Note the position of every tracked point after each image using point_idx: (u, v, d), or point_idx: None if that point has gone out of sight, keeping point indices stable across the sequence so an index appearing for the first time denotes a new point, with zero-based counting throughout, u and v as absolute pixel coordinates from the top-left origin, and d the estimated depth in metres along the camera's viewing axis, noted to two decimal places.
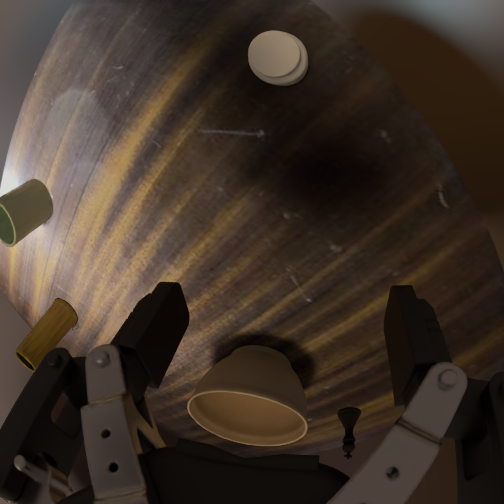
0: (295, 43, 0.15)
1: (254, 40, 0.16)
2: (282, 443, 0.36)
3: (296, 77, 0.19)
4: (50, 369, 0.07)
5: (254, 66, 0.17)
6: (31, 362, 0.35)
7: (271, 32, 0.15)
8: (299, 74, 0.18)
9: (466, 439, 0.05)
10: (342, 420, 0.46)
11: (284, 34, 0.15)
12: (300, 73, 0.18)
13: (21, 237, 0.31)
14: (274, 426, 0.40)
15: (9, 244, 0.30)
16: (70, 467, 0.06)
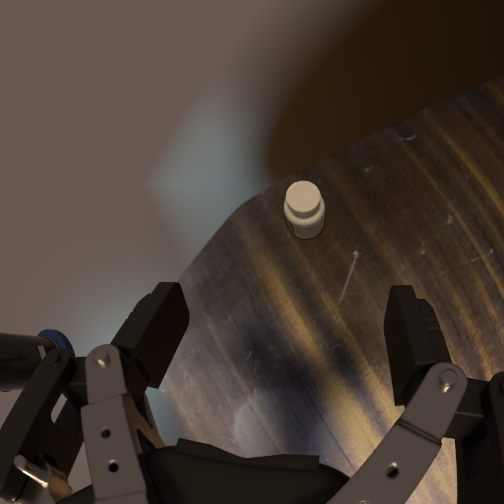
0: (299, 181, 0.29)
1: (290, 204, 0.29)
2: None
3: (321, 198, 0.31)
4: (50, 369, 0.07)
5: (309, 209, 0.28)
6: None
7: (287, 193, 0.29)
8: None
9: (466, 439, 0.05)
10: None
11: (291, 186, 0.29)
12: None
13: None
14: None
15: None
16: (70, 467, 0.06)
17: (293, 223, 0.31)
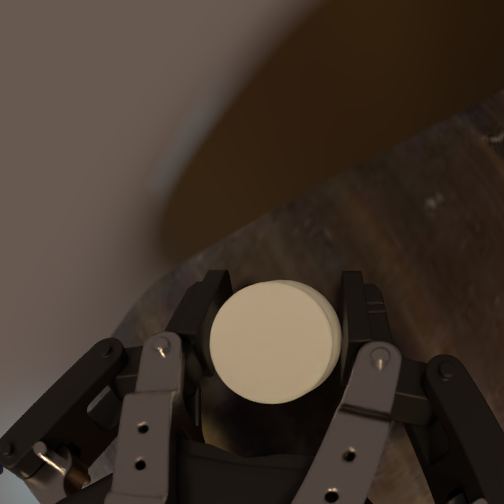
0: (260, 286, 0.08)
1: (221, 373, 0.08)
2: None
3: (335, 316, 0.10)
4: (97, 361, 0.07)
5: (287, 398, 0.07)
6: None
7: (215, 329, 0.08)
8: (330, 308, 0.10)
9: (417, 426, 0.06)
10: None
11: (230, 303, 0.08)
12: (329, 305, 0.10)
13: None
14: None
15: None
16: (95, 457, 0.07)
17: None
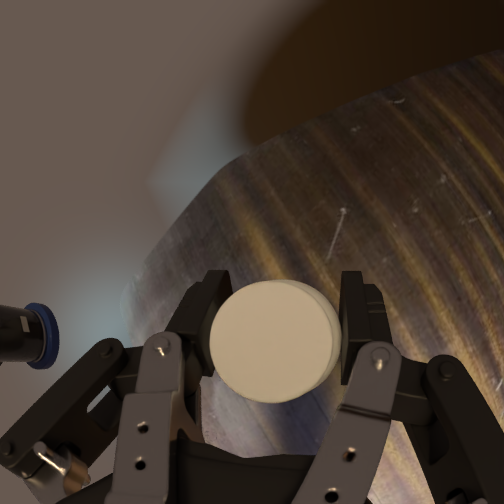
0: (260, 285, 0.08)
1: (221, 372, 0.08)
2: None
3: (335, 315, 0.10)
4: (97, 361, 0.07)
5: (287, 397, 0.07)
6: None
7: (215, 328, 0.08)
8: (330, 307, 0.10)
9: (417, 426, 0.06)
10: None
11: (230, 302, 0.08)
12: (329, 304, 0.10)
13: None
14: None
15: None
16: (95, 457, 0.07)
17: None
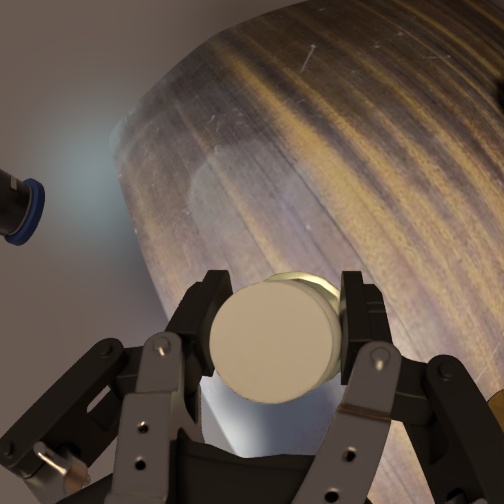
0: (260, 285, 0.08)
1: (221, 373, 0.08)
2: None
3: (335, 315, 0.10)
4: (97, 361, 0.07)
5: (287, 398, 0.07)
6: None
7: (215, 329, 0.08)
8: (330, 307, 0.10)
9: (417, 426, 0.06)
10: None
11: (230, 302, 0.08)
12: (329, 305, 0.10)
13: None
14: None
15: None
16: (95, 457, 0.07)
17: None
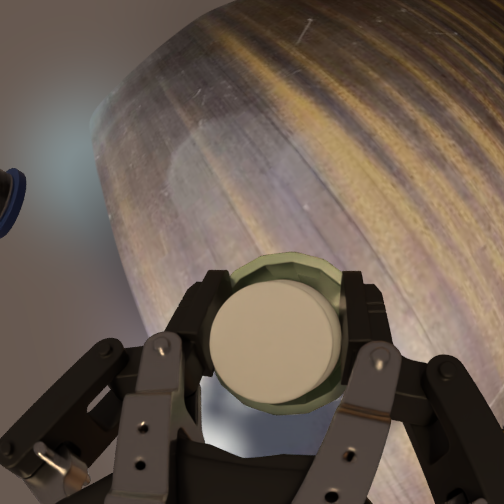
0: (260, 285, 0.08)
1: (221, 373, 0.08)
2: None
3: (335, 315, 0.10)
4: (97, 361, 0.07)
5: (287, 397, 0.07)
6: None
7: (215, 329, 0.08)
8: (330, 307, 0.10)
9: (417, 426, 0.06)
10: None
11: (230, 302, 0.08)
12: (329, 305, 0.10)
13: None
14: None
15: None
16: (95, 457, 0.07)
17: None
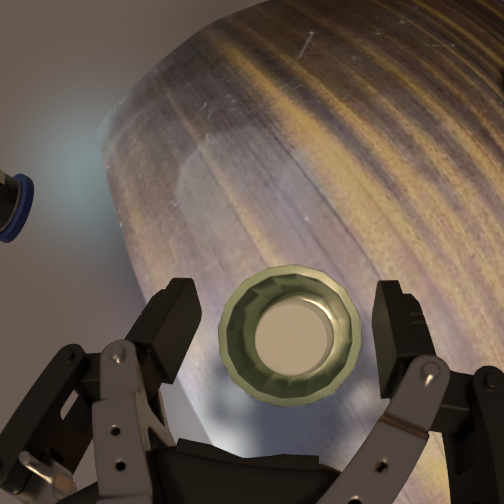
0: (285, 306, 0.14)
1: (262, 358, 0.13)
2: None
3: (330, 322, 0.15)
4: (62, 366, 0.07)
5: (301, 371, 0.13)
6: None
7: (258, 331, 0.14)
8: (327, 317, 0.15)
9: (454, 434, 0.06)
10: None
11: (267, 316, 0.14)
12: (326, 315, 0.15)
13: None
14: None
15: (351, 353, 0.13)
16: (76, 464, 0.06)
17: None
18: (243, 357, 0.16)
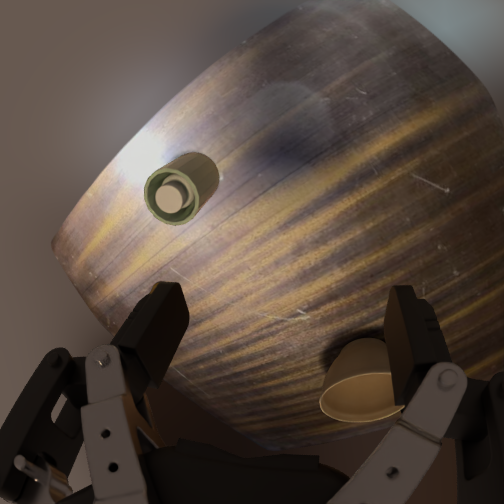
0: (180, 196, 0.32)
1: (159, 189, 0.32)
2: (378, 418, 0.44)
3: (186, 206, 0.35)
4: (50, 370, 0.07)
5: (158, 205, 0.33)
6: None
7: (168, 186, 0.31)
8: (188, 204, 0.35)
9: (466, 439, 0.05)
10: None
11: (174, 189, 0.31)
12: (189, 204, 0.35)
13: None
14: (368, 405, 0.47)
15: (170, 222, 0.34)
16: (70, 467, 0.06)
17: (163, 183, 0.34)
18: None
